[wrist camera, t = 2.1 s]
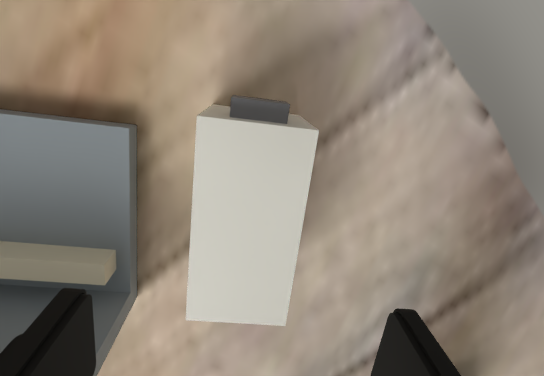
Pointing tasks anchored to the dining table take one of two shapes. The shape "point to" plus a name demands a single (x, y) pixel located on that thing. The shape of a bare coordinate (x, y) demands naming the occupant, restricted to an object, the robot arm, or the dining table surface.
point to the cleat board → (67, 219)
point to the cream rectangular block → (247, 210)
